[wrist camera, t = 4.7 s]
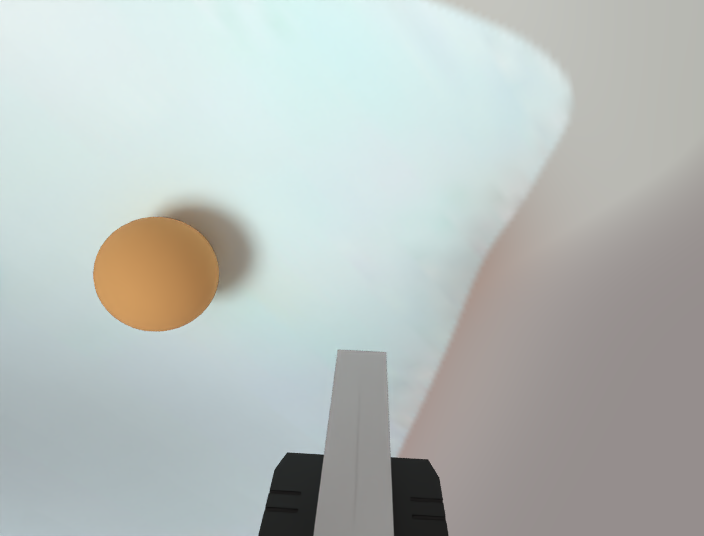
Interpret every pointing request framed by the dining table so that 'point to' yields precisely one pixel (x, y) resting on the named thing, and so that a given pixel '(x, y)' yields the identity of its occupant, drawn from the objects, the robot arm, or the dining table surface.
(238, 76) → the dining table surface
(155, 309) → the ball
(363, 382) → the robot arm
